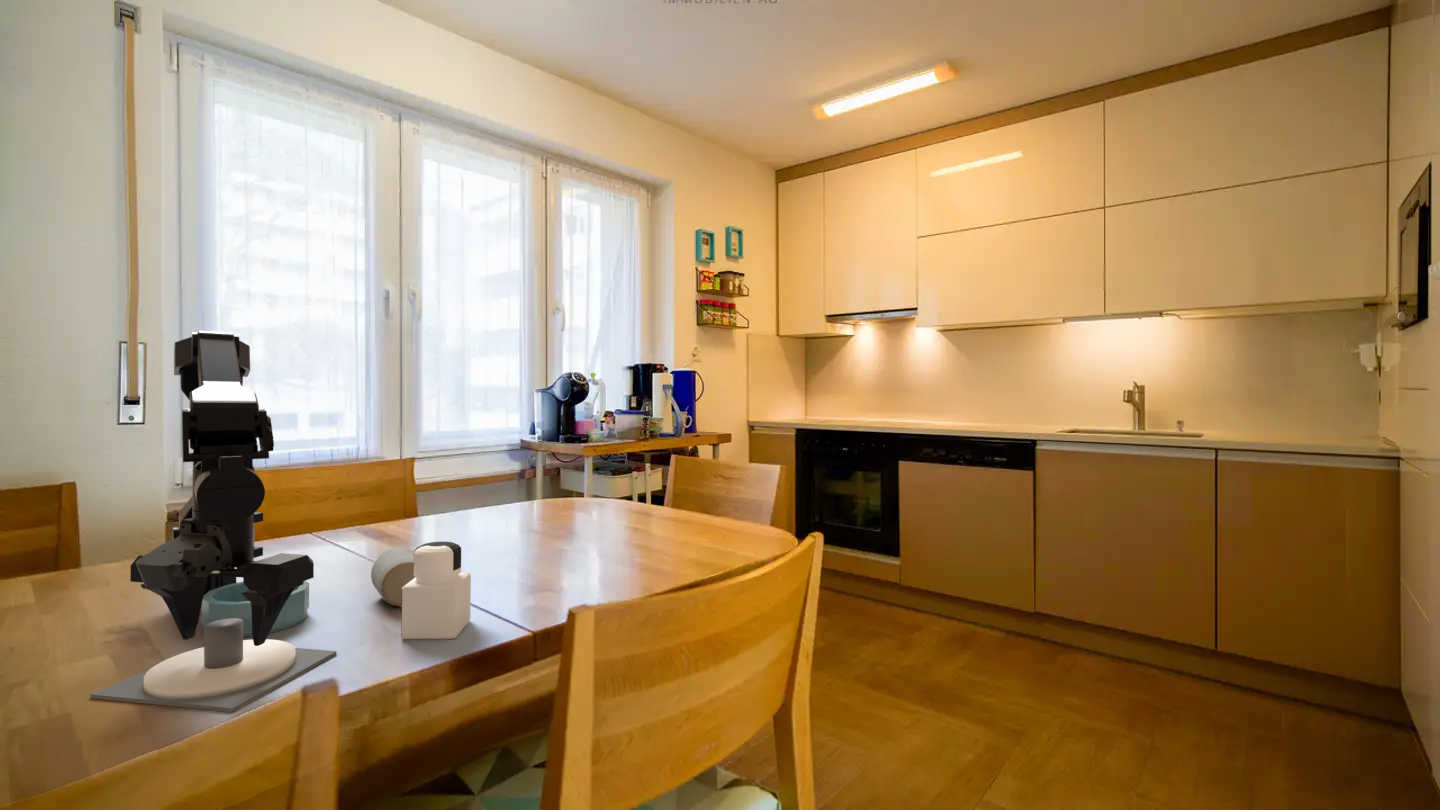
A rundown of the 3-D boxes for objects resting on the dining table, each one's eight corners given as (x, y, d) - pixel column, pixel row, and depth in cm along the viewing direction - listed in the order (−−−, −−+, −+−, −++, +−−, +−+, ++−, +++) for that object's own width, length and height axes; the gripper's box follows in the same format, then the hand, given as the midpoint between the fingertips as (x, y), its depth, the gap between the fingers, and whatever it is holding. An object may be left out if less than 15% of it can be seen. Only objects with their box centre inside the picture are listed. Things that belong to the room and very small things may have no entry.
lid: (107, 693, 70) (107, 642, 70) (223, 643, 84) (223, 600, 84) (224, 704, 69) (224, 652, 68) (322, 651, 82) (323, 608, 82)
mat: (90, 697, 70) (90, 694, 70) (216, 644, 85) (216, 641, 85) (232, 712, 68) (232, 708, 68) (336, 654, 83) (336, 651, 83)
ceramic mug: (380, 613, 98) (381, 561, 98) (369, 598, 104) (371, 549, 104) (454, 601, 104) (455, 553, 104) (440, 588, 111) (441, 542, 111)
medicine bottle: (419, 621, 95) (420, 538, 94) (471, 620, 95) (472, 538, 95) (400, 640, 88) (401, 550, 87) (455, 639, 88) (456, 550, 88)
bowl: (179, 634, 88) (179, 600, 88) (254, 605, 100) (254, 575, 100) (260, 640, 86) (260, 606, 86) (326, 610, 98) (327, 580, 98)
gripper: (77, 516, 69) (77, 664, 70) (235, 526, 67) (235, 678, 67) (178, 499, 80) (178, 626, 81) (317, 506, 78) (316, 637, 78)
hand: (223, 641), depth 76 cm, fingers open, 9 cm apart
